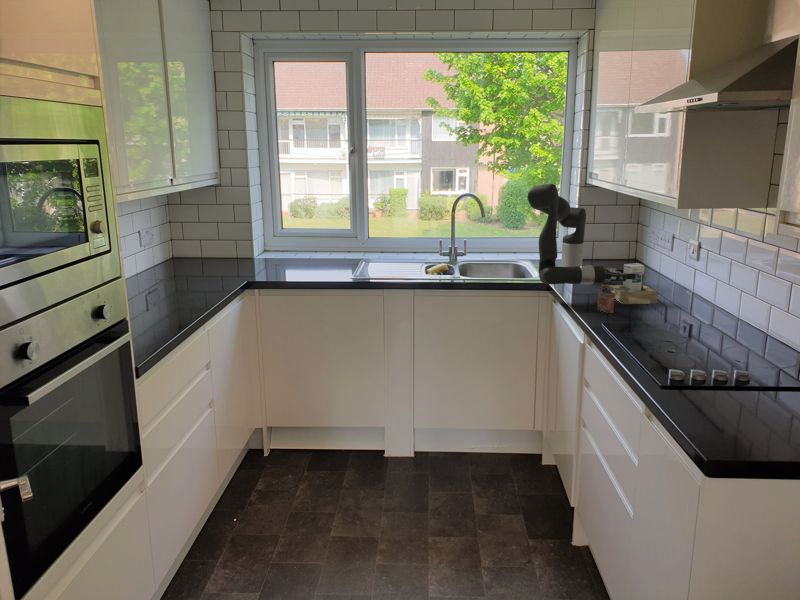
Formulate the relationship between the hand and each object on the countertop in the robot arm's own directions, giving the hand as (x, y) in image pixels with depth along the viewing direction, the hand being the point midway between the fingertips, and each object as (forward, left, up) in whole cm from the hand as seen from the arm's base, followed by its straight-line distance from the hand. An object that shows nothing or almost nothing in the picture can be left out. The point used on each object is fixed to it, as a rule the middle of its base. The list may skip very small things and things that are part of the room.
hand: (630, 274), depth 251 cm
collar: (0, +1, -10) cm, 11 cm away
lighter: (+17, -16, -11) cm, 25 cm away
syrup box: (0, +1, -11) cm, 11 cm away
